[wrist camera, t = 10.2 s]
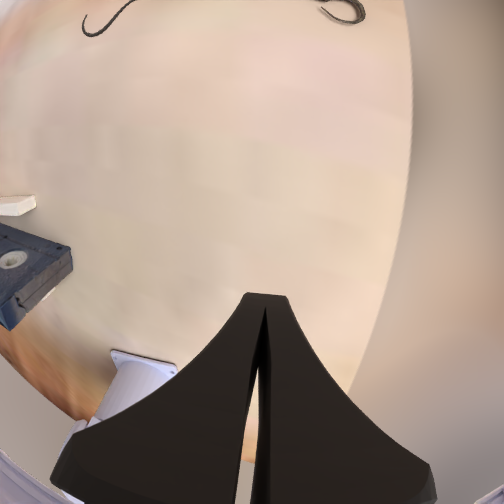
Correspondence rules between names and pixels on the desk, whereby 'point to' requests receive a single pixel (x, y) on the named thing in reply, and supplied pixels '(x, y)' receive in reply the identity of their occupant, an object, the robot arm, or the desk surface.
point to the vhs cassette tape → (28, 272)
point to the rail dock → (18, 210)
